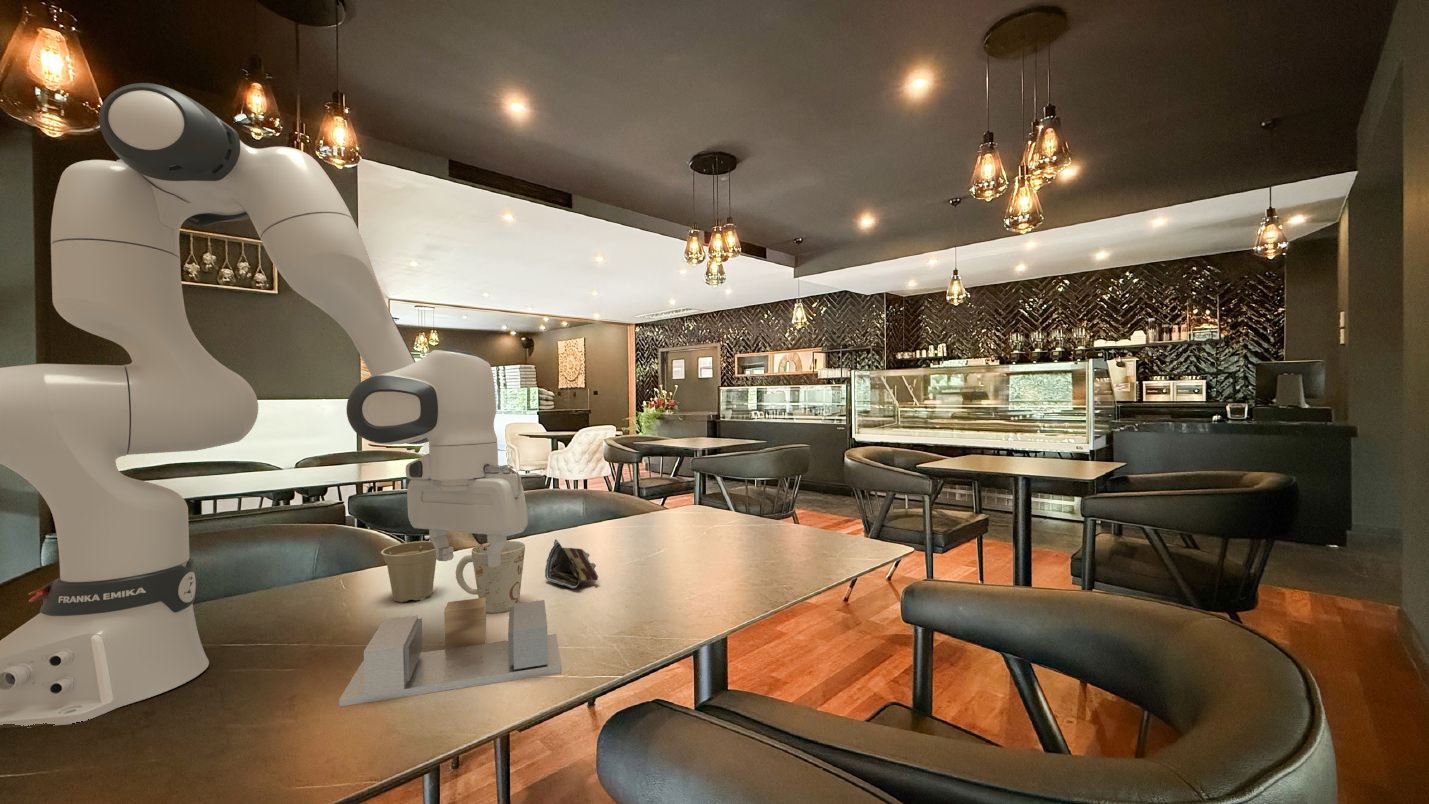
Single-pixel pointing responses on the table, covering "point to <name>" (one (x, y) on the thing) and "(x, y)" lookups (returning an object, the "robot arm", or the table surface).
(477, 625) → the block
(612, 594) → the table surface
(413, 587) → the flower pot
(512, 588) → the mug
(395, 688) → the vise base
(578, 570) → the chocolate cake
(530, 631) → the block
